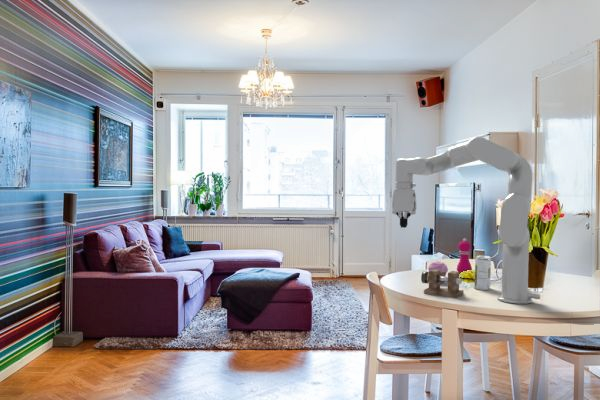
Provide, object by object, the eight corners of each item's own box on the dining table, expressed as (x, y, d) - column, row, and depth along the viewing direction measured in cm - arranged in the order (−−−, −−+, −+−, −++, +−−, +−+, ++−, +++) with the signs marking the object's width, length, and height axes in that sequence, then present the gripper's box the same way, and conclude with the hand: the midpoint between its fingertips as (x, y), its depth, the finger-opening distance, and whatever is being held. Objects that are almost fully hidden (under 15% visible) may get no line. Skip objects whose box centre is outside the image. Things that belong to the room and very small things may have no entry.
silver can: (476, 286, 216) (477, 255, 215) (490, 288, 213) (491, 256, 212) (474, 289, 211) (474, 256, 210) (488, 290, 208) (488, 257, 207)
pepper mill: (472, 279, 234) (473, 239, 234) (457, 278, 236) (458, 238, 235) (470, 276, 241) (471, 237, 241) (455, 276, 243) (456, 237, 242)
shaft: (462, 286, 198) (462, 274, 198) (459, 288, 194) (459, 276, 194) (425, 282, 207) (425, 270, 207) (421, 283, 203) (421, 272, 203)
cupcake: (424, 282, 226) (425, 261, 226) (434, 279, 232) (434, 259, 232) (441, 284, 220) (442, 263, 219) (451, 282, 226) (451, 261, 225)
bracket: (463, 293, 200) (463, 271, 200) (457, 297, 193) (457, 274, 192) (430, 289, 208) (431, 268, 208) (423, 293, 200) (424, 271, 200)
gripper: (423, 186, 211) (422, 227, 211) (391, 186, 219) (391, 226, 219) (417, 186, 204) (416, 228, 205) (385, 186, 213) (384, 227, 213)
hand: (403, 227), depth 212 cm, fingers closed
